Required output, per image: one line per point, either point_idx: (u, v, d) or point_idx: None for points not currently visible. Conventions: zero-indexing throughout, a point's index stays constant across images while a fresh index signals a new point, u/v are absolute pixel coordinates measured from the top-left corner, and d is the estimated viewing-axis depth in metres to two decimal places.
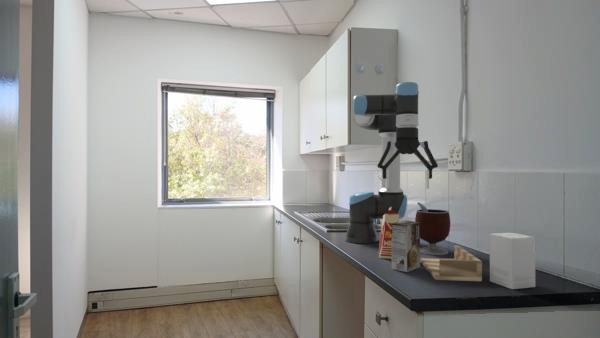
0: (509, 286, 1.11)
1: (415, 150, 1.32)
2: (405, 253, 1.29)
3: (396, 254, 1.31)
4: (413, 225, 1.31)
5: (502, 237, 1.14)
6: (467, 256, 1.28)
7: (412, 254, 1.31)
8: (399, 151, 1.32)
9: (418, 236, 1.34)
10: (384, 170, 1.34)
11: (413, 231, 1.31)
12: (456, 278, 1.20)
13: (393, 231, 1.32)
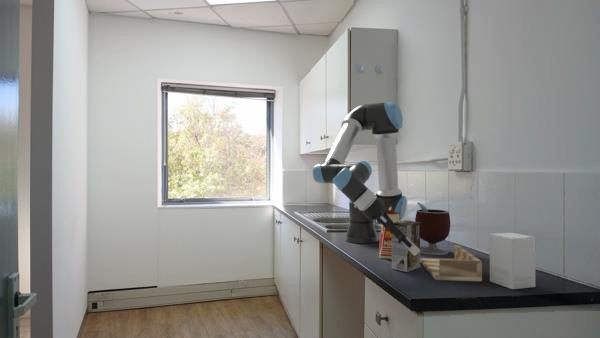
0: (509, 286, 1.11)
1: (383, 225, 1.32)
2: (405, 252, 1.29)
3: (396, 254, 1.32)
4: (413, 225, 1.31)
5: (502, 237, 1.14)
6: (467, 256, 1.28)
7: None
8: None
9: (418, 236, 1.34)
10: None
11: (413, 231, 1.31)
12: (456, 278, 1.20)
13: None
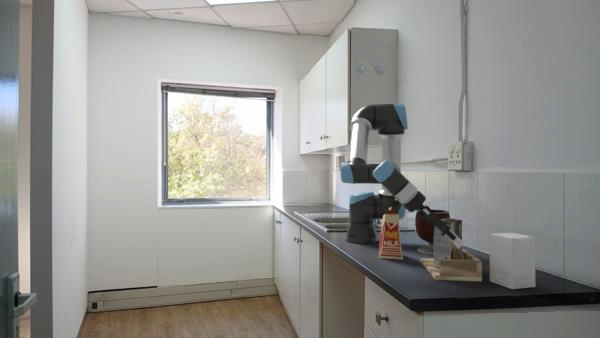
0: (509, 286, 1.11)
1: (425, 218, 1.30)
2: (448, 251, 1.27)
3: (439, 253, 1.29)
4: (456, 222, 1.29)
5: (502, 237, 1.14)
6: (467, 256, 1.28)
7: (455, 252, 1.28)
8: None
9: (460, 234, 1.31)
10: None
11: (456, 228, 1.28)
12: (456, 278, 1.20)
13: (435, 229, 1.30)
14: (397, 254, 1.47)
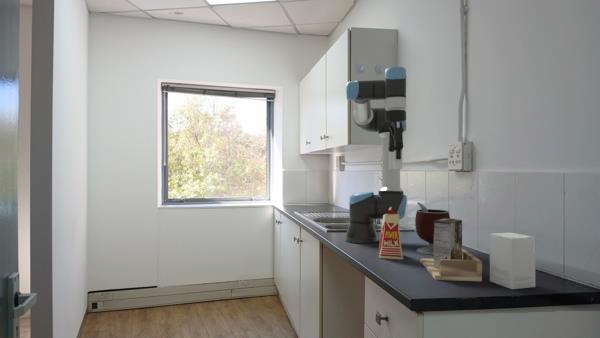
0: (509, 286, 1.11)
1: (391, 132, 1.37)
2: (448, 251, 1.27)
3: (439, 253, 1.29)
4: (456, 223, 1.29)
5: (502, 237, 1.14)
6: (467, 256, 1.28)
7: (455, 252, 1.28)
8: (389, 134, 1.42)
9: (460, 234, 1.31)
10: None
11: (456, 228, 1.28)
12: (456, 278, 1.20)
13: (435, 229, 1.30)
14: (397, 254, 1.47)
